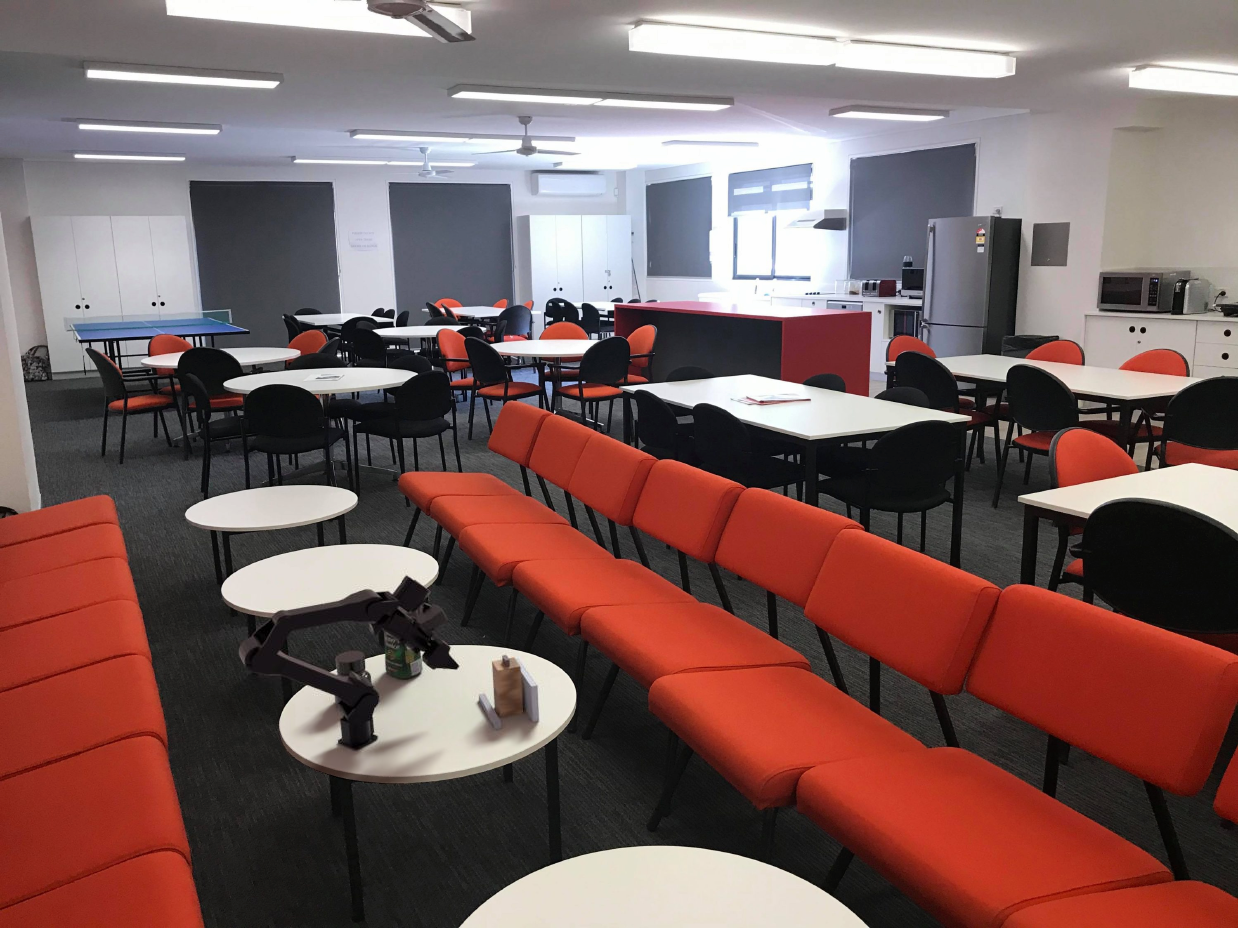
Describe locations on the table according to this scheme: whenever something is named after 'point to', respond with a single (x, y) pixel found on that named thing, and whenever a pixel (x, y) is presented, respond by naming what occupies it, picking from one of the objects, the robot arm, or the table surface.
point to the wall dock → (527, 699)
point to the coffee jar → (401, 656)
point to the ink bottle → (351, 665)
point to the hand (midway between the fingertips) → (450, 660)
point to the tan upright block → (507, 686)
